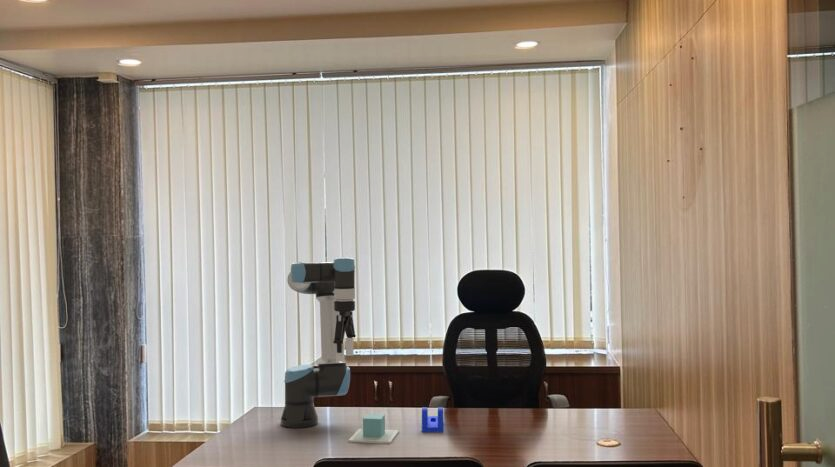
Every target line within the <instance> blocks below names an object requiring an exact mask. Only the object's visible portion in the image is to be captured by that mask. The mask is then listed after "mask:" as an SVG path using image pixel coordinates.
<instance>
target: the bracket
mask: <svg viewBox="0 0 835 467" xmlns="http://www.w3.org/2000/svg"><path fill="white" fill-rule="evenodd" d="M428 414H429V412H428V407H424V406H423V407H421V433H444V424H445V423H444V421H445V420H444V407H440V406H439V407H437V415H428Z"/></svg>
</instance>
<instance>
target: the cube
mask: <svg viewBox="0 0 835 467" xmlns="http://www.w3.org/2000/svg"><path fill="white" fill-rule="evenodd" d="M385 417H386V415H385V414H381V413H379V414H375V413H371V414H370V413H367V414H365V415H364V417H362V429H363V437H379V438H381V437H382V436H383V435H384V433H385V430H386V418H385Z"/></svg>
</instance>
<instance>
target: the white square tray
mask: <svg viewBox="0 0 835 467" xmlns="http://www.w3.org/2000/svg"><path fill="white" fill-rule="evenodd" d="M398 434H399V430H398V429H397V430H396V429H385V433H384V435H383V436H382V437H381V438H379V437H363V428H359V429H357V430H356V432H354V434H353V435H352V436H351V437H350V438H349V439H348V443H358V444H359V443H362V444H363V443H364V444H383V445H385V444H387V445H389V444H390V445H391V444H392V443H393V441H394V440H395V439H396V437H397V436H398Z"/></svg>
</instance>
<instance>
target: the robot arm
mask: <svg viewBox="0 0 835 467" xmlns="http://www.w3.org/2000/svg"><path fill="white" fill-rule="evenodd" d="M355 269H356V265H355V259H354V258H353V257H335V258H334V259H333V261H326V262H325V261H323V262H322V261H321V262H302V261H300V262H293V263H291V265H290V272H289V274H288V275H287V279H286V280H287V283H288V287H289V288H290V289H291V290H292V291H294V292H297V293H300V294H303V295H304V294H305V295H315V299H316V300H317V301H318V302H319V313H320V314H319V318H320V319H319V320H320V322H319V323H320V347H321V348H320V350H321V359H320V361H319V362H318V363H317V368H315V367H314V365H313V364H301V365H296V366H291V367H290V368H288V369H286V370H285V373H284V380H283V382H284V407H283V411H282V414H281V417H280V425H281V426H282V427H285V428H292V429H299V428H300V429H301V428H310V427H314V426H316V425H317V424H318V423H319V416H318V414H317V410H316V407H315V404H314V401H315V400H314V398H324V397H337V396H345V395H347V393H348V392H349V389H350V383H351V368H350V367H349V366H347V362H346V361H345V356H349V357H350V356H351V357H352V356H354V338H356V337H357V336H356V332H355V331H356V330H355V326H354V319H353V318H354V317H353V316H354V315H353V313H354V311H355V310H356V301H355V299H356V288H355V279H356V278H355V272H356V271H355ZM345 335H346V337H345ZM344 339H345V344H344Z"/></svg>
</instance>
